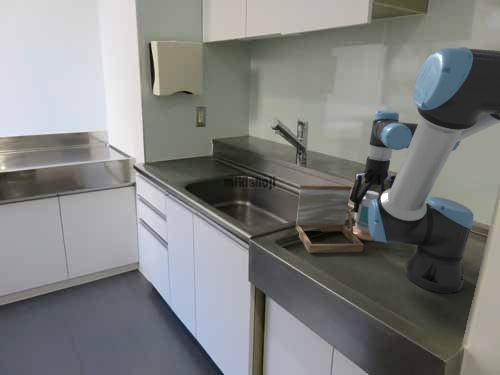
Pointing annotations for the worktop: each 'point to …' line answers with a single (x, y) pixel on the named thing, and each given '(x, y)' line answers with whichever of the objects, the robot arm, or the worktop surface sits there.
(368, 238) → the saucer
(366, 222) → the pill bottle
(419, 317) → the worktop surface
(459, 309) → the worktop surface
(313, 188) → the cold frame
